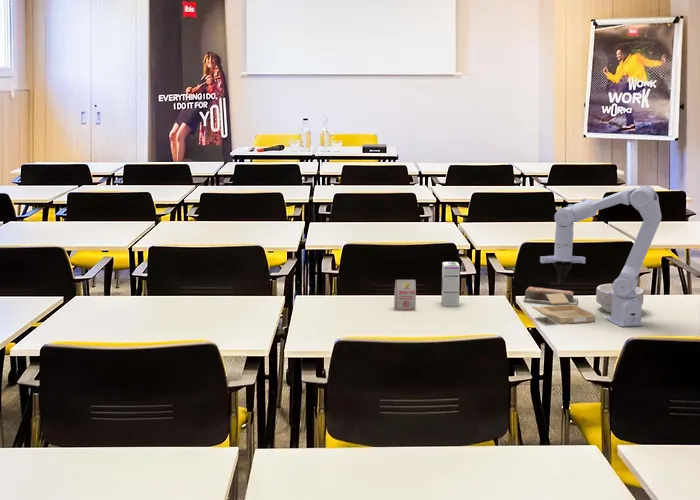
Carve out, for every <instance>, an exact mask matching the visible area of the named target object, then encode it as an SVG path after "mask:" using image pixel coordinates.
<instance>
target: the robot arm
mask: <svg viewBox="0 0 700 500" xmlns="http://www.w3.org/2000/svg"><path fill="white" fill-rule="evenodd" d="M619 204H623V205H627V206H629V205H631V206H632V207H633V208H634V209H635V210H637V211H638V212H639V214H640V217H641V218H642V220H643V221H642V223H641V226H640V228H639V230H638V233H637V235H636V238H635V241H634V242H633V245H632V247H631V250H630V252H629V254H628V256H627V258H626V259H627V260H626V262H625V264H624V266H623V268H622V270H620V271H621V272H620V274H619V275H618V277H617V278H616V279H614V281H613V282H612V284H613V285H612V287H613V291H614V292H613V299H612V312H611V313H610V314H611V315H610V317H609V316H607V317H605V320H607V321H608V322H611V323H613V324H615V325H617V326H618V327H622V328H623V327H635V326H636V327H637V326H638V327H640V326H643V325H644V324H643V323H642V322H641V319H642V309H643V307H642V306H643V305H642V306H641V303H640V302H639V301H638V300H637V297H636V295H637V294H636V292H635V290H634V289H635V288H636V287H638V285H639V276H640V271H641V268H642V266H643V263H644V261H645V259H646V256H647V253H648V251H649V249H650V247H651V244H652V242H653V240H654V237H655V235H656V233H657V231H658V228H659V226H660V223H661V221H662V219H663V218H662V216H663V215H662V212H661V207H660V201H659V195H658V193H657V192H656V190H655V189H654V188H653V187H652V186H650V185H642V186H639V187H632V188H628V189H625V190H620V191H619V192H616V193H613V194H611V195H608V196H606V197H602V198H600V199H597V200H594V199H591V198H588V199H587V198H582V199H581V201H579V202H577V203H575V204H571V203H570V204H568V205H567V206H565V207H562V208H560V209H558V210H557V211H556V212H555V213H554V221H555V237H554V250H553V251H554V254H553V255H545V256H541V255H540V256H539V257H540V258H539V262H540V263H541V264H551V263H552V264H553V267H554V268H555V271H556V275H557V281H558V284H559V285H560V286H565V282H566V279H567V276H568V274H569V272H570V271H571V270H572V266H573V264H577V263H578V264H586V257H585V256H581V255H580V256H578V255H577V256H576V255H573V246H574V245H573V243H574V226H575V224H574V223H575V222H576V223H577V222H581V221H584V220H587V219H590V218H592V217H595V216H596V215H597V214H598V211H599V210H603V209H606V208H607V209H608V208H610V207H613V206H616V205H619Z"/></svg>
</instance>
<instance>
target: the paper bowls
mask: <svg viewBox="0 0 700 500" xmlns="http://www.w3.org/2000/svg"><path fill="white" fill-rule="evenodd" d="M612 285H613V283H604V284H599V285H598V286H597V287H596V292H595V295H596V297H595V302H596V303H597V304H600V305H601V309H603V311H604V312H607V313H609V314H611V312H612V299H613V292H614V291H613V287H612ZM634 290H635V292H636V294H637V295H636V297H637V300H638V301H639V302H640V303H641V306H643V303H644V293H645V292H644V289H643V288H642V287H639V286H637V287H636V288H635V289H634Z"/></svg>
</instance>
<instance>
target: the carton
mask: <svg viewBox="0 0 700 500" xmlns="http://www.w3.org/2000/svg"><path fill="white" fill-rule="evenodd" d="M539 308H544V309H547V310H549V311H550V312H552V313H554V314H556V315H558V317H555V316H549V315H545V316H546V317H548V318H549V319H551V320H553V321H554V322H556V323H558V324H560V325H566V324H579V323H593V322H595V316H596V315H594V314H593V313H591V312H590V311H588V310H586V309H584V308H582V307H580V306H578V305H576V306H575V305H558V306H554V305H545V306H543V305H542V306H540V307H539Z"/></svg>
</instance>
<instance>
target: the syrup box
mask: <svg viewBox="0 0 700 500" xmlns="http://www.w3.org/2000/svg"><path fill="white" fill-rule="evenodd" d="M441 264H442V268H441V305H442V307H460V283H461V282H460V276H461V275H460V274H461V272H460V271H461V270H460V269H461V266H460V264H459V262H458V261H443V262H442V263H441Z"/></svg>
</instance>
